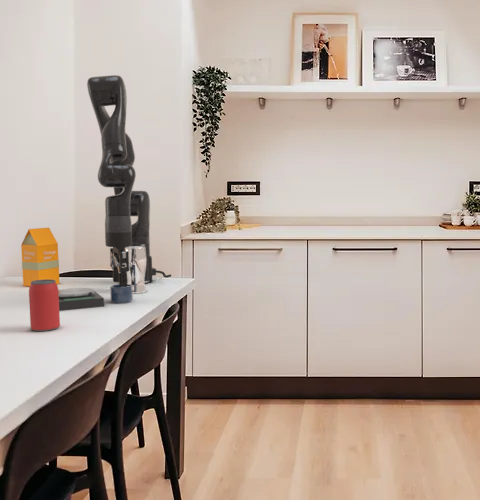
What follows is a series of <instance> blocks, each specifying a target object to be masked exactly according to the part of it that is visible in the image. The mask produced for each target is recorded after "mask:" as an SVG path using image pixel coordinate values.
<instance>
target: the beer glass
mask: <svg viewBox="0 0 480 500" xmlns="http://www.w3.org/2000/svg"><path fill="white" fill-rule="evenodd" d="M125 251H128V252H129V254H128V255H129V271H128V273H127V280H128V284H131V285H132V293H133V294H142V293H146V292H147V288H146V283H145V282H144V278H145V271H146V249H145V247H144V246H129V247H125Z"/></svg>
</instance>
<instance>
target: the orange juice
mask: <svg viewBox="0 0 480 500" xmlns="http://www.w3.org/2000/svg"><path fill="white" fill-rule="evenodd" d="M20 247H21V249H20V250H21V269H22V287H30V285H31V282H32V281H35V280H46V279H50V280H55V281H56V284H57V285H59V284H60V283H61V281H60V259H59V242H58V241H57V239H56V238H55V235H54V234H53V231H52V230H51V228H50V227H38V228H28V230H27V232H26V234H25V236H24V239H23V241H22V243H21V246H20Z"/></svg>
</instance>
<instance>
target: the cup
mask: <svg viewBox="0 0 480 500" xmlns="http://www.w3.org/2000/svg"><path fill="white" fill-rule="evenodd" d="M109 288H110V289H109V292H110V293H109V295H110V302H112V304H118V305H119V304H128V303H131V302H132V300H133V299H134V297H133V295H134V293H132V285H131V284H127V285H126V286H120V285H119V283H118V284H112V285H110V286H109Z"/></svg>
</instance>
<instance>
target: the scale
mask: <svg viewBox="0 0 480 500" xmlns="http://www.w3.org/2000/svg"><path fill="white" fill-rule="evenodd" d="M100 307H105V297H103V296H102V295H100V294H99V293H98V292H97V291H95V293H94V294H91V295H87V296H80V297H59V312H61V311H69V310H70V311H71V310H79V309H92V308H100Z"/></svg>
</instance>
